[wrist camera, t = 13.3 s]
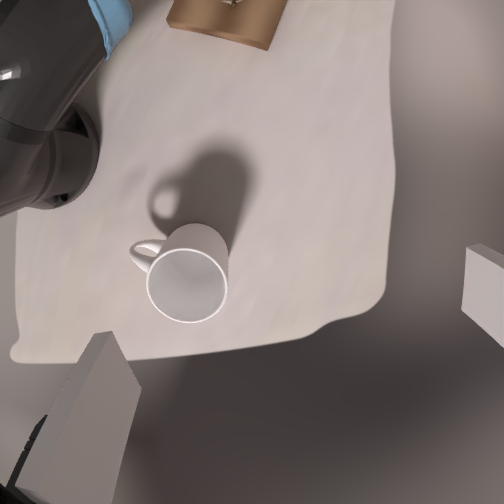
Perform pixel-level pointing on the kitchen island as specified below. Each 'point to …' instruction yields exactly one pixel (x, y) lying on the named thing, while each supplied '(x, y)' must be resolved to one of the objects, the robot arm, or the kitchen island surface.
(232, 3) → the game die
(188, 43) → the kitchen island surface
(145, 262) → the mug
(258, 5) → the pedestal
